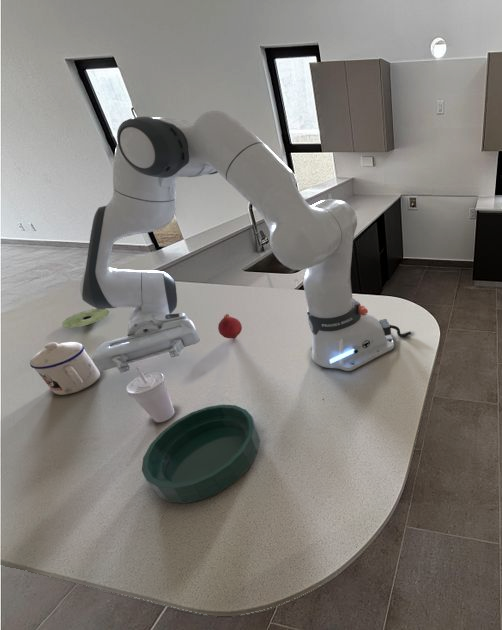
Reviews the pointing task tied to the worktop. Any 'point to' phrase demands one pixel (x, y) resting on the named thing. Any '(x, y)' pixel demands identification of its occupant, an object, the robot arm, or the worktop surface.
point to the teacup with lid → (65, 367)
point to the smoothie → (152, 395)
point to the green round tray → (201, 453)
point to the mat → (85, 318)
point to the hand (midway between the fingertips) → (149, 361)
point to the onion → (229, 327)
